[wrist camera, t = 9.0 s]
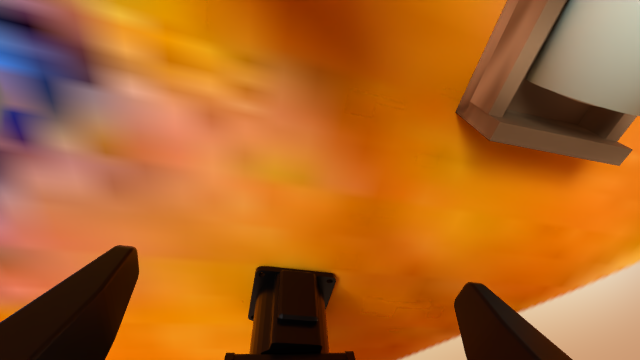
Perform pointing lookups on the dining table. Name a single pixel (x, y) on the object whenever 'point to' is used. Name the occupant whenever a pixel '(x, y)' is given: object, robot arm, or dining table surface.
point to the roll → (594, 55)
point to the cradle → (535, 94)
